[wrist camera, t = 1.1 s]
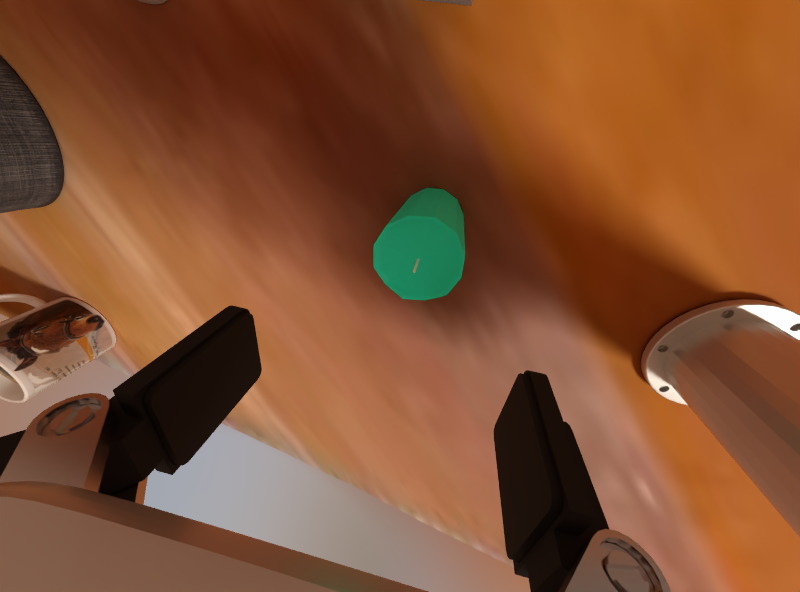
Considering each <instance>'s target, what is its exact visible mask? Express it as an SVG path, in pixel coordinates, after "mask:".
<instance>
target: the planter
mask: <svg viewBox="0 0 800 592" xmlns="http://www.w3.org/2000/svg"><path fill="white" fill-rule="evenodd" d="M63 180H64V169H63V162H62V157H61V153H60V149H59V146H58V143H57V140H56V138H55V135H54V133H53V131H52V128H51V126H50V124H49V122H48V120H47V118H46V116H45V115H44V113H43V111H42V109H41V108H40V106H39V104H38V103H37V101H36V100H35V98H34V97H33V95H32V94H31V92H30V91H29V90H28V88H27V87H26V86H25V84H24V83H23V82H22V80H21V79H20V78H19V77H18V75H17V74H16V73H15V72H14V71H13V70H12V68H11V67H10V66H9V65H8V64H7V63H6V62H5V61H4V60H3V59H2V58H1V57H0V213H4V212H10V211H16V210H22V209H30V208H38V207H43V206H46V205H49V204H51V203H52V202H53V201H55V200H56V199H57V197H58V196H59V194H60V192H61V190H62V187H63Z"/></svg>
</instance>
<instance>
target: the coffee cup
mask: <svg viewBox="0 0 800 592" xmlns="http://www.w3.org/2000/svg"><path fill="white" fill-rule="evenodd" d="M137 1H141V2H145V3H149V4H154V5H157V4H162V3H164V2H166V1H167V0H137Z"/></svg>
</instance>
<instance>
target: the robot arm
mask: <svg viewBox="0 0 800 592" xmlns="http://www.w3.org/2000/svg"><path fill="white" fill-rule="evenodd" d="M261 370H262V368H261V362H260V356H259V350H258V344H257V337H256V331H255V325H254V319H253V316H252V314H250V312H249V310H248V309H245V308H240V307H236V306H228V307H227V308H225V309H224V310H222V311H221V312H220V313H218V314H217V315H216V316H214V317H213V318H211V319H210V320H209V321H207V322H206V323H205V324H203V325H202V326H200V327H199V328H198V329H196V330H195V331H194V332H192V333H191V334H189V335H188V336H187V337H185V338H184V339H183V340H181V341H180V342H178V343H177V344H176V345H174V346H173V347H172V348H170V349H169V350H167V351H166V352H165V353H163V354H162V355H161V356H159V357H158V358H156V359H155V360H154V361H152V362H151V363H150V364H148V365H147V366H145V367H144V368H143V369H141V370H140V371H139V372H137V373H136V374H134V375H133V376H132V377H130V378H129V379H128V380H126V381H125V382H124V383H122V384H121V385H119V386H118V387H117V388H115V389H114V390H113V392H114V394H115V396H114V397H112V398H111V399H109V400H108V398H107V397H106V396H104V395H101V394H96V393H89V394H83V395H78V396H74V397H71V398H68V399H65V400H63V401H61V402H59V403H56V404H54V405H53V406H51V407H49V408H48V409H46V410H44V411H43V412H42V413H40V414H39V415H38V416H37V417H36V418H35V419H33V421H32V422H31V423H30V425H29V426H28V427H27V429H26V430H23V431H20V432H16V433H13V434H10V435H7V436H3V437H0V592H428V591H424V590H421V589H418V588H415V587H412V586H408V585H405V584H402V583H399V582H395V581H392V580H389V579H386V578H383V577H379V576H376V575H373V574H370V573H366V572H363V571H360V570H357V569H353V568H350V567H347V566H344V565H340V564H337V563H334V562H331V561H328V560H324V559H321V558H318V557H314V556H311V555H308V554H305V553H301V552H298V551H295V550H291V549H288V548H285V547H282V546H278V545H275V544H272V543H268V542H265V541H262V540H258V539H255V538H252V537H248V536H245V535H242V534H239V533H235V532H232V531H229V530H225V529H222V528H219V527H216V526H212V525H209V524H205V523H202V522H198V521H195V520H192V519H189V518H185V517H182V516H178V515H175V514H172V513H169V512H165V511H162V510H158V509H155V508H152V507H148V506H145V505H143V503H144V497H145V490H146V484H147V477H148V475H149V474H150V473H151V472H152V471H153V470H154V469H156V470H157V471H160V472H164V473H168V474H171V475H173V474H174V473H175V471H176V470H177V469H178V468H179V467H180V466H181V465H184V464H186V463H187V462H188V461H189V460H190V459H191V458H192V457H193V456H194V455H195V453H196V452H197V451H198V450H199V448H200V447H201V446H202V445H203V444H204V443H205V441H206V440H207V439H208V438H209V437H210V435H211V434H212V433H213V432H214V431H215V430H216V428H217V427H218V426H219V425H220V424H221V422H222V421H223V420H224V419H225V418H226V416H227V415H228V414H229V413H230V412H231V410H232V409H233V408H234V407H235V406H236V405H237V403H238V402H239V401H240V400H241V399H242V397H243V396H244V395H245V394H246V393H247V391H248V390H249V389H250V388H251V387H252V385H253V384H254V383H255V382H256V381H257V380H258V378H259V377H260V374H261ZM641 370H642V373H643V375H644V378H645V379H646V380H647V382H648V383H649V385H650V386H651V387H652V388H653V389H654V390H655V392H657V393H658V394H659V395H661V396H663V397H664V398H666V399H668V400H671V401H674V402H676V403H681V404H685V405H688V406H689V407H690V408H691V409H692V410H693V412H694V413H695V414H696V415H697V416H698V417H699V419H700V420H701V421H702V422H703V423H704V425H705V426H706V427H707V428H708V429H709V430H710V432H711V433H712V434H713V435H714V436H715V438H716V439H717V440H718V441H719V442H720V443H721V445H722V446H723V447H724V448H725V449H726V451H727V452H728V453H729V454H730V455H731V457H732V458H733V459H734V460H735V461H736V462H737V464H738V465H739V466H740V467H741V468H742V470H743V471H744V472H745V473H746V474H747V475H748V477H749V478H750V479H751V480H752V481H753V483H754V484H755V485H756V486H757V487H758V488H759V490H760V491H761V492H762V493H763V494H764V496H765V497H766V498H767V499H768V500H769V501H770V503H771V504H772V505H773V506H774V507H775V509H776V510H777V511H778V512H779V513H780V514H781V516H782V517H783V518H784V519H785V520H786V522H787V523H788V524H789V525H790V526H791V527H792V529H793V530H794V531H795V532H796V533H797V535H798V536H799V537H800V315H799V314H797V313H795V312H793V311H792V310H790V309H788V308H786V307H784V306H781V305H778V304H776V303H773V302H768V301H762V300H751V299H739V300H729V301H722V302H718V303H713V304H709V305H706V306H703V307H700V308H697V309H694V310H691V311H689V312H687V313H685V314H683V315H681V316H679V317H677V318H676V319H674V320H673V321H671V322H670V323H668V324H667V325H665V326H664V327H663V328H662V329H661V330H659V331H658V332H657V333H656V334H655V335H654V336H653V338H652V339H651V340H650V341H649V343H648V344H647V346H646V348H645V350H644V352H643V355H642V359H641ZM494 442H495V452H496V461H497V470H498V479H499V489H500V498H501V507H502V517H503V526H504V535H505V544H506V552H507V556H508V558H509V559H512V560H513V562H514V570H515V574H517V575H520V576H523V577H527V578H529V583H530V589H531V592H671V591H670V588H669V585H668V583H667V581H666V579H665V577H664V575H663V573H662V571H661V570H660V568H659V567H658V565H657V564H656V563H655V561H654V560H653V559H652V557H651V556H650V555H649V554H648V553H647V552H646V551H645V550H644V549H643V548H642V547H641V546H640V545H639V544H638V543H636V542H635V541H634V540H632V539H631V538H629V537H628V536H626V535H624V534H622V533H620V532H618V531H615V530H610V529H609V527H608V524H607V522H606V519H605V516H604V514H603V511H602V508H601V506H600V503H599V500H598V498H597V495H596V492H595V490H594V487H593V484H592V482H591V479H590V476H589V474H588V471H587V468H586V466H585V463H584V460H583V458H582V455H581V453H580V450H579V447H578V445H577V442H576V439H575V437H574V434H573V431H572V429H571V427H570V425H569V424H568V423H567V422H563V419H562V416H561V413H560V411H559V408H558V405H557V402H556V399H555V397H554V394H553V391H552V388H551V385H550V383H549V380H548V377H547V375H545V374H542V373H537V372H533V371H525V372H524V374H521V373H520V374H518V376H517V378H516V380H515V383H514V385H513V387H512V389H511V391H510V393H509V396H508V398H507V400H506V402H505V404H504V407H503V409H502V411H501V413H500V415H499V418H498V420H497V422H496V424H495V428H494Z"/></svg>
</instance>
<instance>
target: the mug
mask: <svg viewBox="0 0 800 592" xmlns="http://www.w3.org/2000/svg"><path fill="white" fill-rule="evenodd" d="M0 302H21V303H26V304H29V305H32V306H34V307H35V308H34V309H31V310H29V311H26V312H24V313H22V314H19V315H17V316H14V317H12V318H9V319H7V320H4V321H2V322H0V399H3V400H6V401H10V402H15V403H21V402H24V401H26V400H28V399H30V398H31V397H33V396H35V395H36V394H38V393H39V392H41V391H43V390H44V389H46V388H48V387H49V386H51V385H52V384H54V383H56V382H57V381H59V380H61V379H62V378H64V377H66V376H67V375H69V374H70V373H72V372H74V371H75V370H77V369H79V368H80V367H82V366H84V365H85V364H87V363H88V362H90V361H92V360H94V359H95V358H97V357H98V356H100V355H102V354H103V353H105V352H107V351H108V350H110V349H112V348H113V347H114V346H115V344H116V335H115V332H114V330H113V328H112V326H111V325H110V323H109V322H108V321H107V320H106V319H105V318H104V317H103V315H101V314H100V313H99V312H98V311H97V310H96V309H94V308H93V307H91V306H90V305H88V304H87V303H85V302H83V301H80V300H78V299H75V298H71V297H62V298H59V299H56V300H54V301H51V302H49V303H46V302H45V301H43V300H42V299H40V298H38V297H35V296H32V295H27V294H18V293H8V294H0Z"/></svg>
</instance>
